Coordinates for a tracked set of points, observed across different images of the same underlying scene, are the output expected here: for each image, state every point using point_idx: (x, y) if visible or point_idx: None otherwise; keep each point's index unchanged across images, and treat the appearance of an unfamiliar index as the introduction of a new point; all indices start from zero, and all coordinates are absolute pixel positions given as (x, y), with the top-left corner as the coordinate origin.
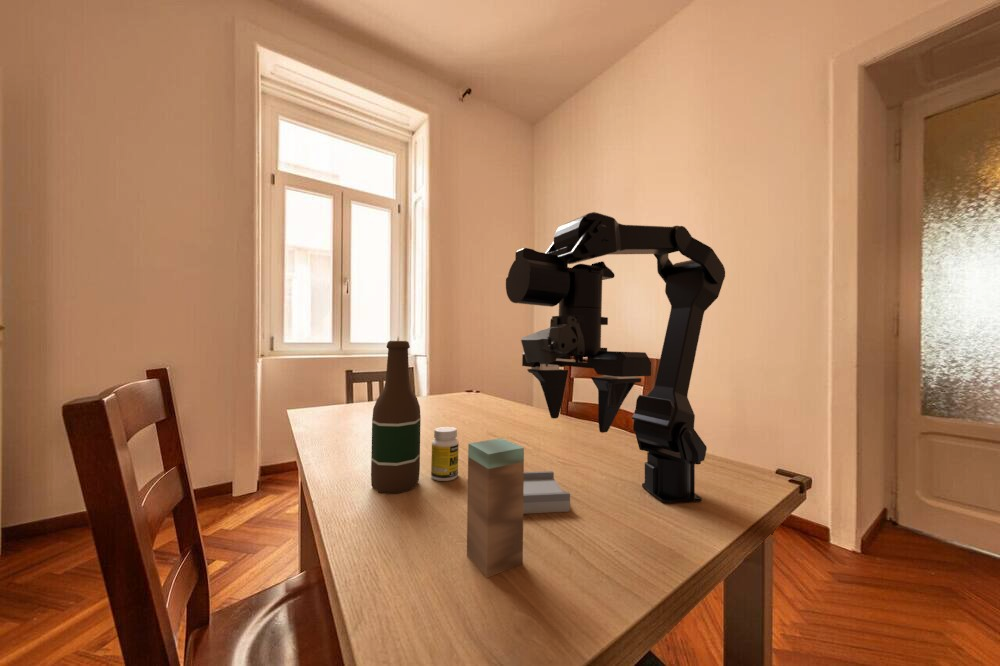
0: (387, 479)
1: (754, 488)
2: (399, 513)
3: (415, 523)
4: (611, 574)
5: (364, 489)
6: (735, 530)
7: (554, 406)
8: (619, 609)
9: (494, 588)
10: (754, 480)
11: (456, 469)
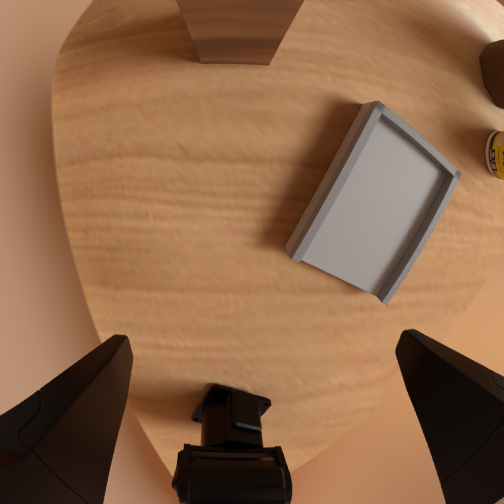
0: (497, 46)
1: None
2: (428, 19)
3: (393, 13)
4: (111, 164)
5: None
6: None
7: (424, 367)
8: (68, 125)
9: None
10: None
11: (497, 167)
